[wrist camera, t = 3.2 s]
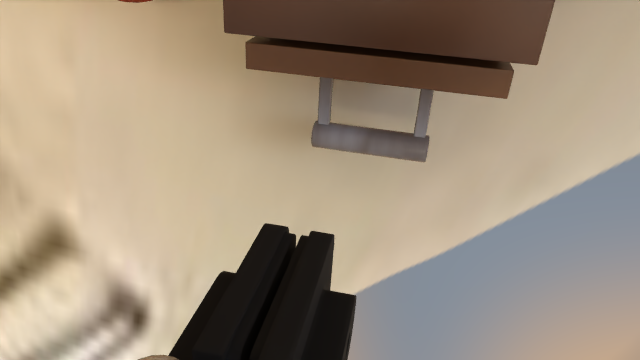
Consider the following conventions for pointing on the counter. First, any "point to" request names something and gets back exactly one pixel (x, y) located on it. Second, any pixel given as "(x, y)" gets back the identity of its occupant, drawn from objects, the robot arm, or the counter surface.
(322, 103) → the drawer
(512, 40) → the cabinet
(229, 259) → the counter surface
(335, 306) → the robot arm
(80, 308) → the counter surface
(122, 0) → the fruit
